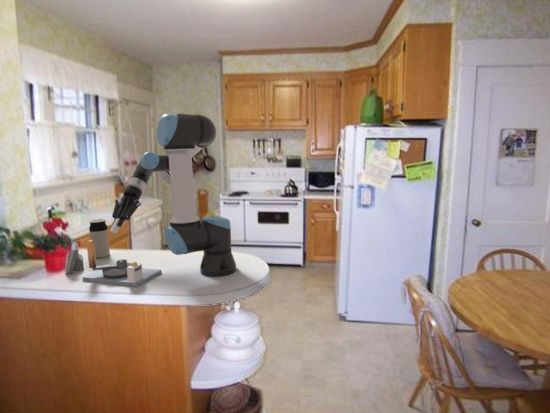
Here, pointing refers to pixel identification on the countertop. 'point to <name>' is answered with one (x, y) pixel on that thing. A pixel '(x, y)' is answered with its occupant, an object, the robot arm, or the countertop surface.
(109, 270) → the crank
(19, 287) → the countertop surface
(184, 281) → the countertop surface
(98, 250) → the travel mug
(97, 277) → the stand
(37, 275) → the countertop surface
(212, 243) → the robot arm
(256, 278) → the countertop surface
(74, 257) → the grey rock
